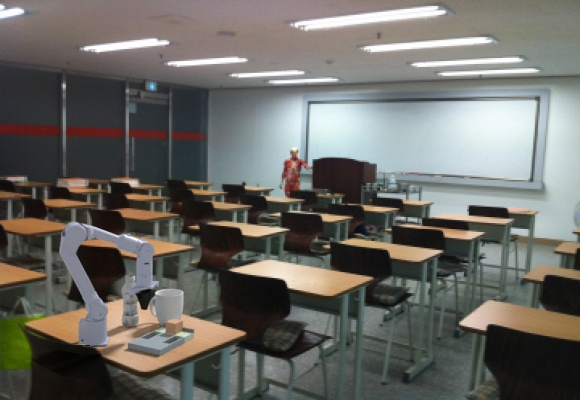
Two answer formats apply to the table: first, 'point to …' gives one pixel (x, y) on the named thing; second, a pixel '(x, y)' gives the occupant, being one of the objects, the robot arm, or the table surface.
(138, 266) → the robot arm
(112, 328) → the table surface
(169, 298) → the mug
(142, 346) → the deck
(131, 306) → the plastic bottle
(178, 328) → the block
